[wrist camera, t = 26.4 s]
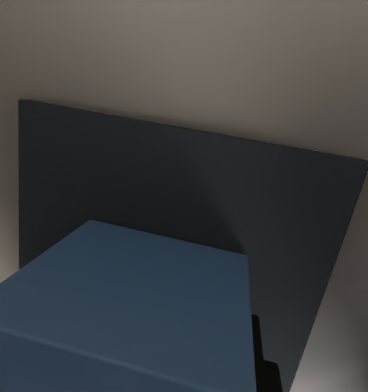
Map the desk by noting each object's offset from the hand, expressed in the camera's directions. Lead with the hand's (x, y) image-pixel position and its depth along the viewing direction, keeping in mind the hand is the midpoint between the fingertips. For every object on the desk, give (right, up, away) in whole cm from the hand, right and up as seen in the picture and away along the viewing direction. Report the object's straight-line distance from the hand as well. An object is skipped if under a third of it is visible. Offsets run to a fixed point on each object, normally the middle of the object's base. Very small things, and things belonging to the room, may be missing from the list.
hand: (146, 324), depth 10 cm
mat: (0, -2, +2) cm, 3 cm away
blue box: (0, 0, +1) cm, 1 cm away
